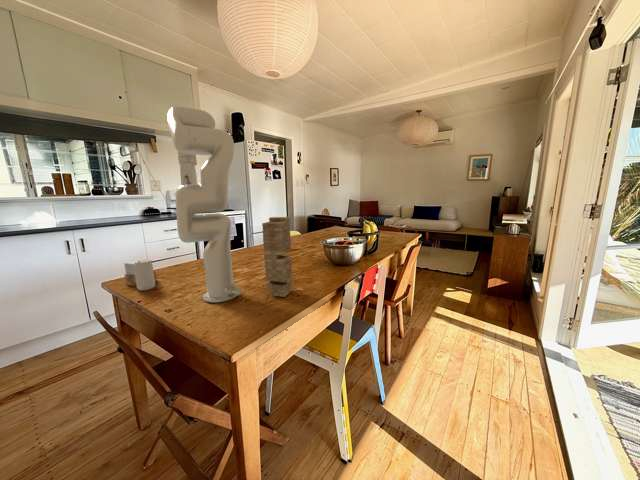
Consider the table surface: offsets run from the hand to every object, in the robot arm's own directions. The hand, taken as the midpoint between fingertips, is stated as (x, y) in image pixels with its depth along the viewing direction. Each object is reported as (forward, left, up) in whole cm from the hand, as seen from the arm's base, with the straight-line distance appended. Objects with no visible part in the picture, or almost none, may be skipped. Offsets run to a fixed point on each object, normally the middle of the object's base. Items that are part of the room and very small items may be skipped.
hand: (192, 199), depth 120 cm
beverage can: (+6, +24, -36) cm, 44 cm away
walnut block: (+15, +19, -36) cm, 44 cm away
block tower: (-51, +14, -36) cm, 64 cm away
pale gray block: (+15, +19, -32) cm, 40 cm away
